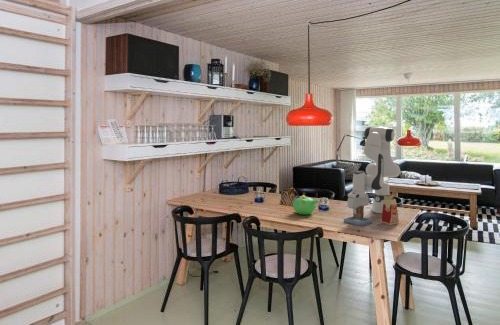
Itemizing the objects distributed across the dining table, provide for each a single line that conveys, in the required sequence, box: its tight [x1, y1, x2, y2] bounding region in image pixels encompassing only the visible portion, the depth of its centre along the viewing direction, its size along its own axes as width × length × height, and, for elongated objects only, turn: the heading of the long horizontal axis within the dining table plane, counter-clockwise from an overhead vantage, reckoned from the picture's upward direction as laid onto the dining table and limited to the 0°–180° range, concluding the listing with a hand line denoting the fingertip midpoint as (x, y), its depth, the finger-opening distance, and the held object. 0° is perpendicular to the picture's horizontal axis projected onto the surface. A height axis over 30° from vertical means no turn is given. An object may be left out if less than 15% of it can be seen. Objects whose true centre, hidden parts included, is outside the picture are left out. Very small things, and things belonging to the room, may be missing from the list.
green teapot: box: [292, 194, 320, 215], centre depth 283 cm, size 18×17×15 cm
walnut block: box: [352, 206, 365, 219], centre depth 257 cm, size 5×5×9 cm
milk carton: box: [381, 194, 400, 226], centre depth 256 cm, size 9×9×20 cm
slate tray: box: [343, 216, 373, 227], centre depth 258 cm, size 14×14×2 cm
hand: (358, 213), depth 257 cm, fingers closed on walnut block, 5 cm apart
